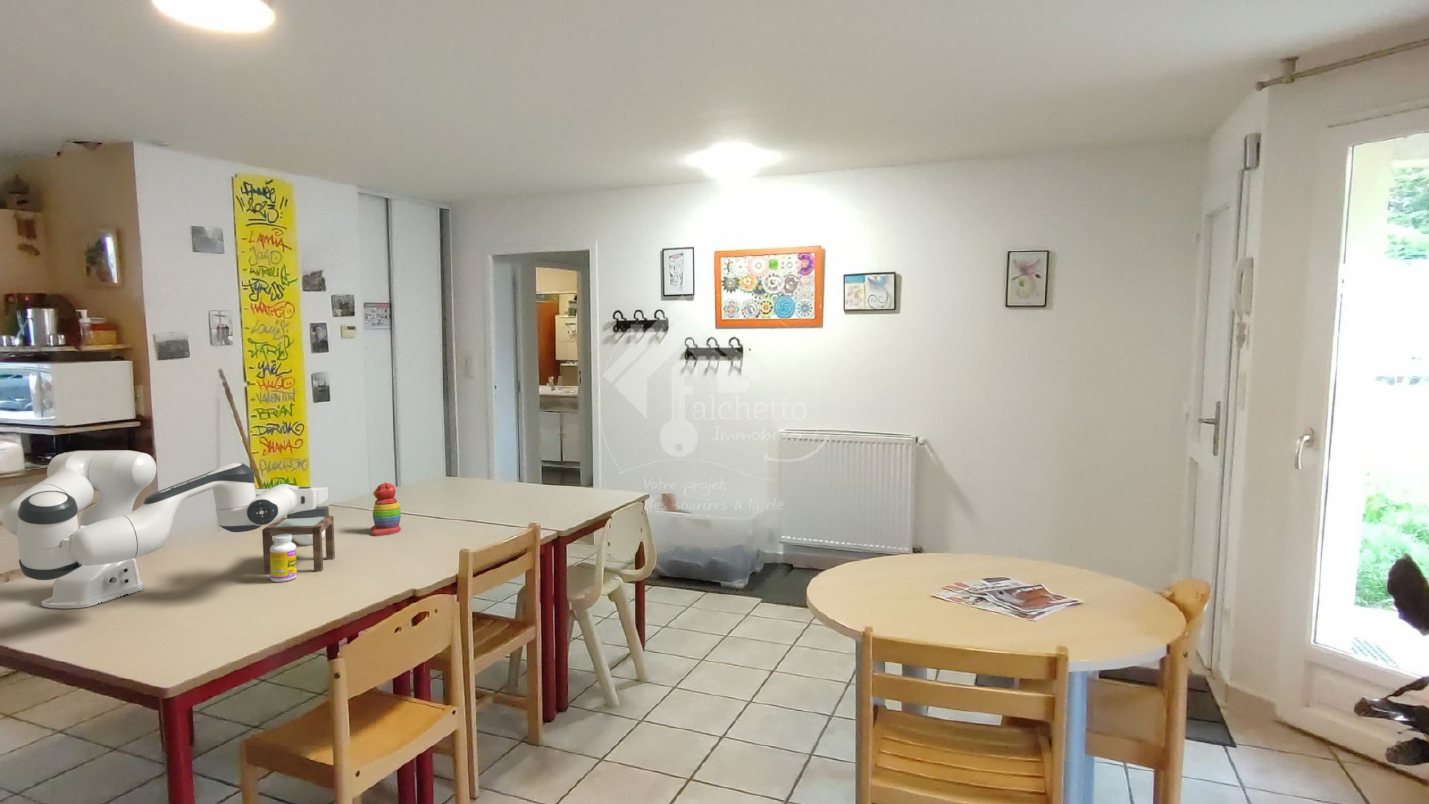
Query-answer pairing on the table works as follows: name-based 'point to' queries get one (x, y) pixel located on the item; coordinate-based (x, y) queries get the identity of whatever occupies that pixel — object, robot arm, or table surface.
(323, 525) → the miniature wooden table
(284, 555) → the supplement bottle
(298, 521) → the trapdoor
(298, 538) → the lidded bowl
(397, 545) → the table surface
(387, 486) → the stacking bear
